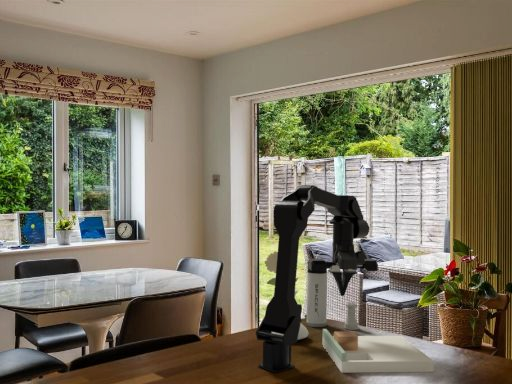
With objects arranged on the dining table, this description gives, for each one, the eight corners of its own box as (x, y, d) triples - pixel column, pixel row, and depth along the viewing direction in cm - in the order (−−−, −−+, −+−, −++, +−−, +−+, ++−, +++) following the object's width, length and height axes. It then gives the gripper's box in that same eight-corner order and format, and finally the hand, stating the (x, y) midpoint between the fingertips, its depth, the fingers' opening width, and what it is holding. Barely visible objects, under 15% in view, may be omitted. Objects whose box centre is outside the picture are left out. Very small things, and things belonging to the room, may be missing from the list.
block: (338, 350, 137) (338, 336, 137) (333, 345, 142) (333, 331, 142) (357, 350, 137) (357, 336, 137) (352, 345, 142) (352, 331, 142)
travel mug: (314, 321, 179) (315, 260, 179) (330, 325, 174) (331, 262, 174) (301, 324, 174) (302, 261, 174) (317, 328, 170) (318, 263, 170)
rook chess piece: (348, 326, 173) (348, 300, 173) (361, 328, 171) (361, 302, 171) (341, 328, 170) (341, 302, 170) (353, 331, 167) (354, 304, 167)
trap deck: (341, 372, 128) (341, 353, 128) (322, 345, 151) (322, 328, 151) (433, 371, 129) (434, 352, 129) (400, 344, 152) (401, 328, 152)
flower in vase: (311, 335, 162) (312, 249, 162) (305, 345, 150) (307, 253, 151) (267, 331, 165) (268, 248, 165) (259, 341, 153) (260, 252, 154)
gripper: (315, 242, 146) (314, 301, 146) (384, 242, 147) (383, 301, 147) (308, 238, 157) (307, 293, 157) (372, 239, 158) (371, 293, 158)
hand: (342, 295), depth 154 cm, fingers closed
